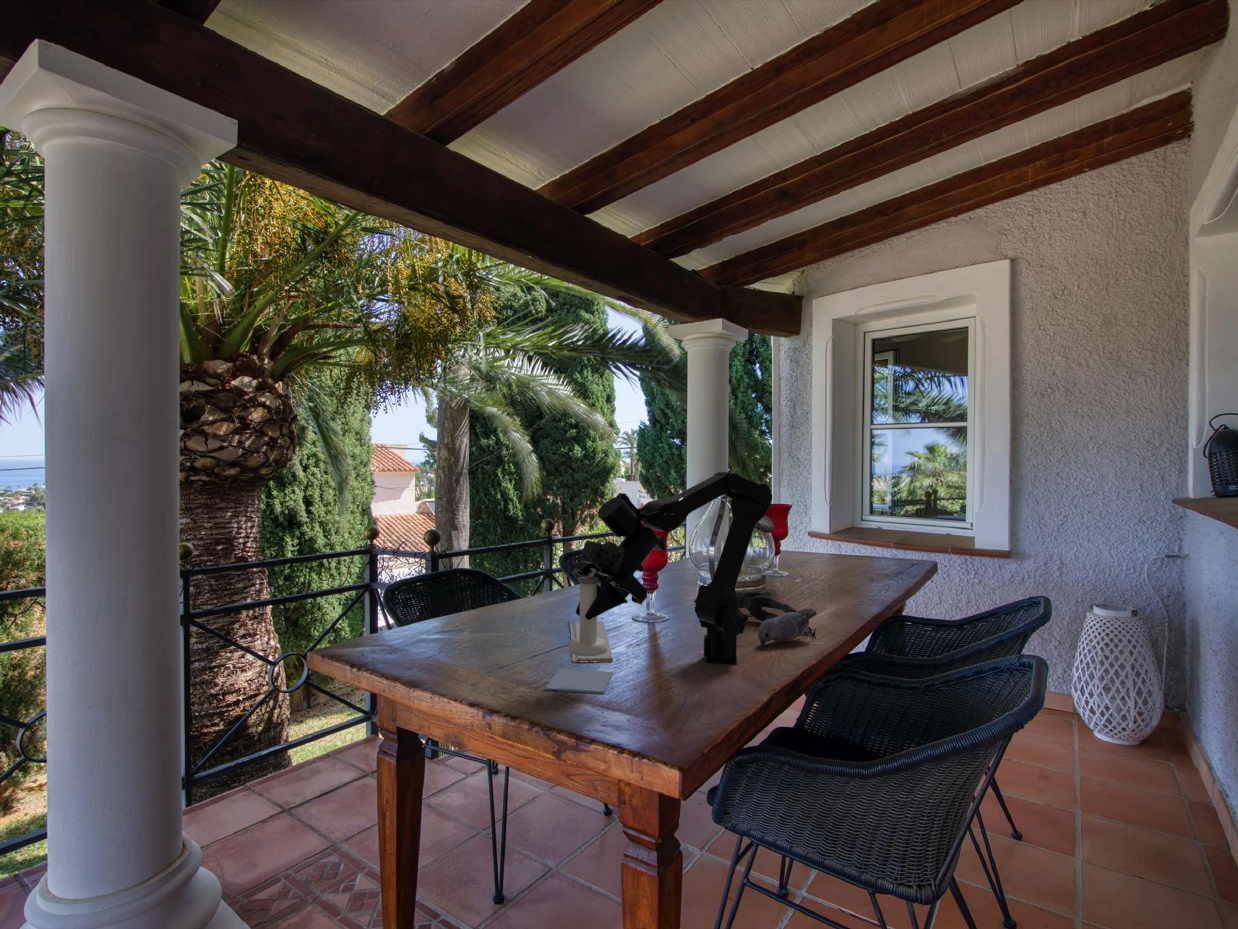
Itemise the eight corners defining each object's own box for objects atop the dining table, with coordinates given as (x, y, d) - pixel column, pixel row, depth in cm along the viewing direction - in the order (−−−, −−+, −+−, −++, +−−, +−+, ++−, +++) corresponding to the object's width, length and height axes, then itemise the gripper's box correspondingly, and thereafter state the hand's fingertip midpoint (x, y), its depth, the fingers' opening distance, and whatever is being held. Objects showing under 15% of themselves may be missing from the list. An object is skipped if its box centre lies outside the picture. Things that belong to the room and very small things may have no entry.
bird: (752, 644, 153) (752, 612, 153) (803, 635, 161) (803, 605, 161) (768, 650, 149) (768, 617, 148) (819, 641, 156) (820, 609, 156)
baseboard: (565, 665, 138) (613, 665, 139) (565, 652, 138) (613, 651, 138) (564, 627, 168) (603, 627, 169) (564, 616, 168) (603, 616, 169)
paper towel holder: (612, 647, 125) (613, 576, 125) (597, 658, 119) (597, 583, 119) (579, 643, 128) (579, 573, 128) (562, 653, 122) (563, 580, 121)
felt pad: (612, 673, 131) (612, 671, 131) (604, 693, 120) (604, 691, 120) (558, 670, 132) (558, 668, 132) (545, 690, 121) (545, 688, 121)
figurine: (808, 602, 161) (708, 575, 181) (800, 639, 160) (700, 607, 180) (827, 607, 168) (729, 581, 189) (819, 641, 167) (722, 611, 188)
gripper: (582, 520, 133) (532, 580, 127) (633, 530, 117) (579, 599, 112) (615, 556, 137) (568, 615, 132) (669, 570, 122) (618, 638, 116)
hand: (581, 616), depth 123 cm, fingers closed on paper towel holder, 3 cm apart
